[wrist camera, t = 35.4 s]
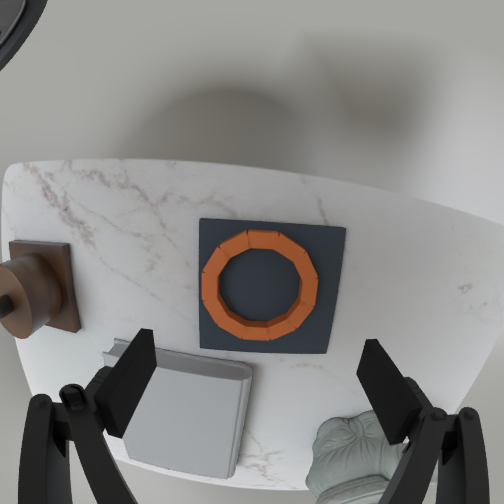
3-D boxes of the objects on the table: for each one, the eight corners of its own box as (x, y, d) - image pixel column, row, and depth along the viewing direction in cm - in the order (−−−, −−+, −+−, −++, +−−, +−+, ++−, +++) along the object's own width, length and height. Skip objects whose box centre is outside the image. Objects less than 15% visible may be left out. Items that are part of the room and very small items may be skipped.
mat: (200, 218, 29) (199, 219, 28) (343, 227, 28) (346, 228, 28) (201, 344, 32) (199, 348, 31) (324, 350, 32) (326, 353, 31)
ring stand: (14, 239, 29) (-46, 260, 17) (69, 243, 29) (-1, 270, 17) (27, 314, 32) (-23, 349, 20) (81, 328, 32) (29, 377, 20)
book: (129, 458, 34) (102, 352, 28) (135, 443, 38) (115, 338, 32) (234, 480, 34) (252, 382, 29) (235, 463, 38) (253, 363, 32)
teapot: (416, 411, 35) (460, 488, 17) (356, 461, 38) (378, 538, 20) (355, 384, 33) (401, 492, 15) (288, 443, 36) (298, 542, 18)
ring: (205, 226, 28) (202, 229, 26) (319, 233, 28) (323, 236, 26) (204, 329, 30) (202, 336, 29) (306, 334, 30) (309, 341, 29)
